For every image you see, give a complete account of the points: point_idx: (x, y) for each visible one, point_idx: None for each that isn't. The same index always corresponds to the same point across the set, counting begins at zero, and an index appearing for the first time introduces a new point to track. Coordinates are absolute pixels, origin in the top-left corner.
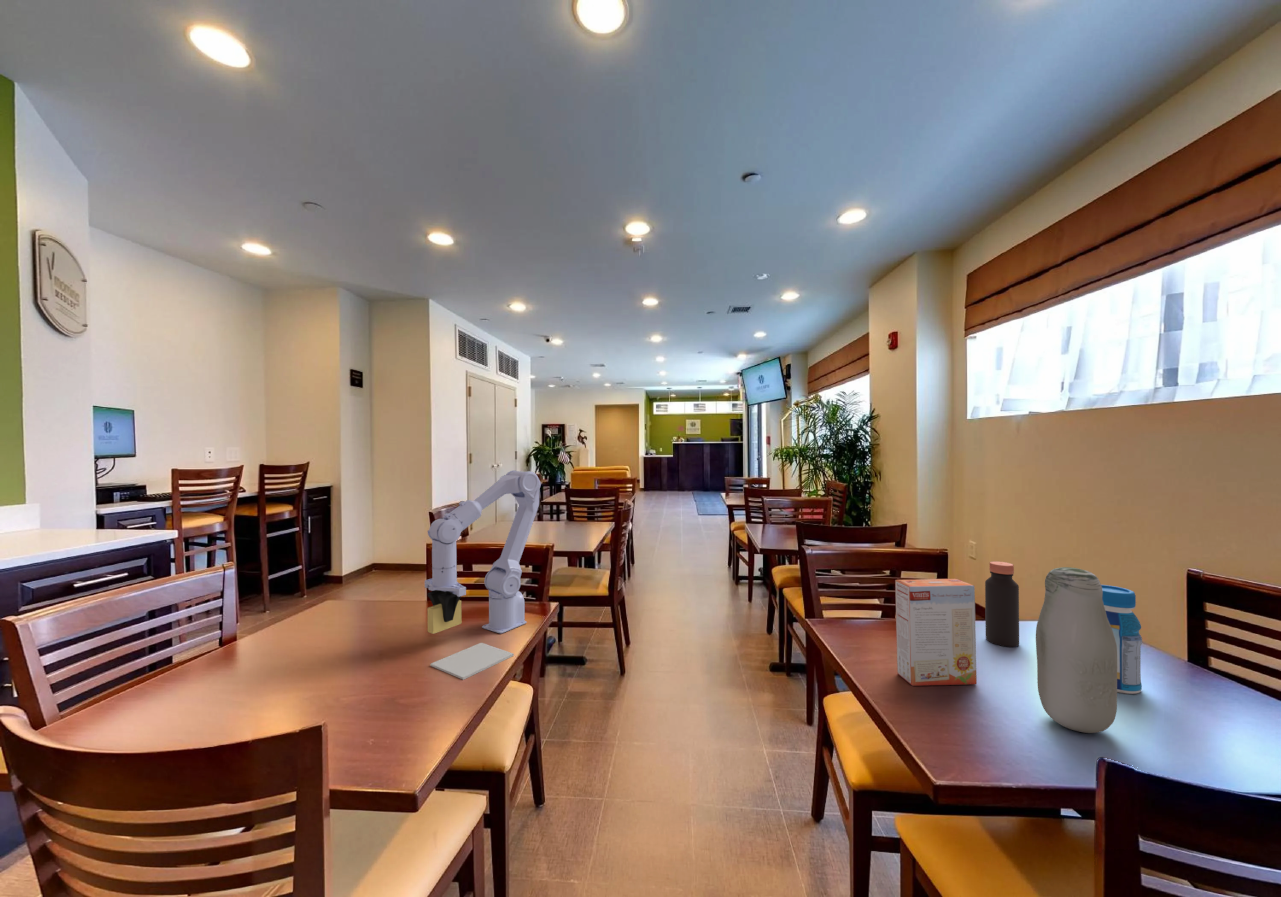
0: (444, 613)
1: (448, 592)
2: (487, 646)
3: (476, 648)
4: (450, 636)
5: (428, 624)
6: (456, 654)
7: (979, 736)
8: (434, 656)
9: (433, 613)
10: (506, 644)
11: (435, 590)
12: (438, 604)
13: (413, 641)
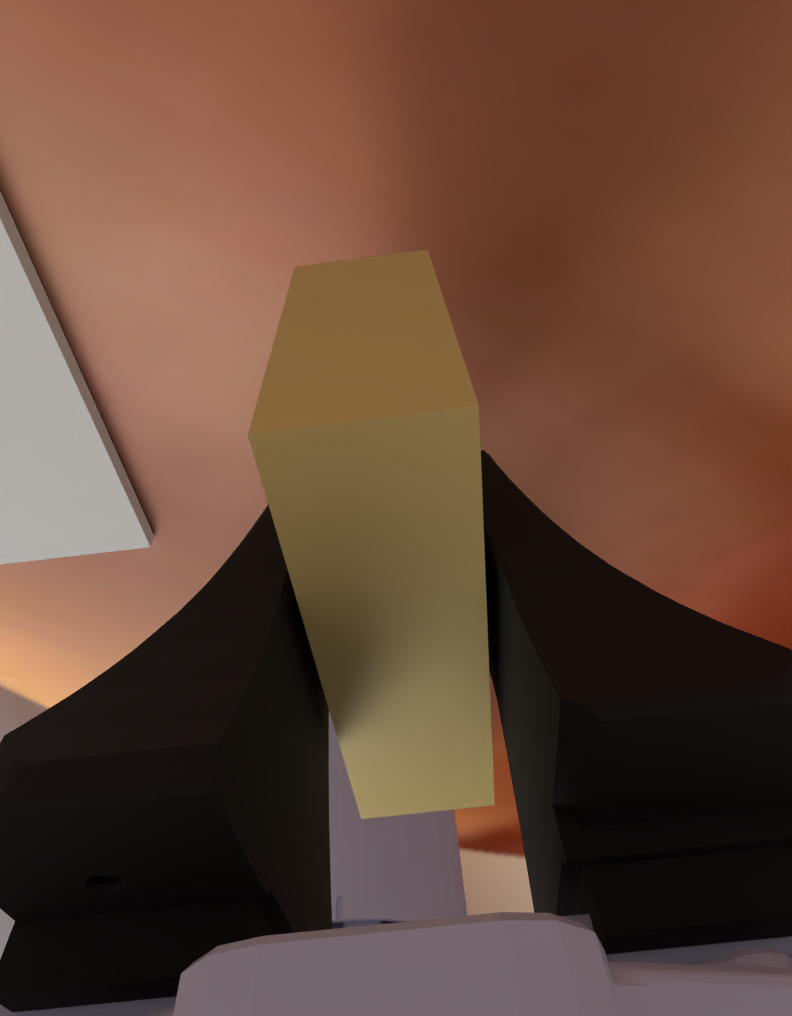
0: (251, 536)
1: (100, 977)
2: (35, 541)
3: (47, 477)
4: (506, 469)
5: (413, 285)
6: (5, 308)
7: None
8: (164, 151)
9: (263, 398)
10: (44, 628)
11: (709, 869)
12: (482, 610)
13: (726, 191)
